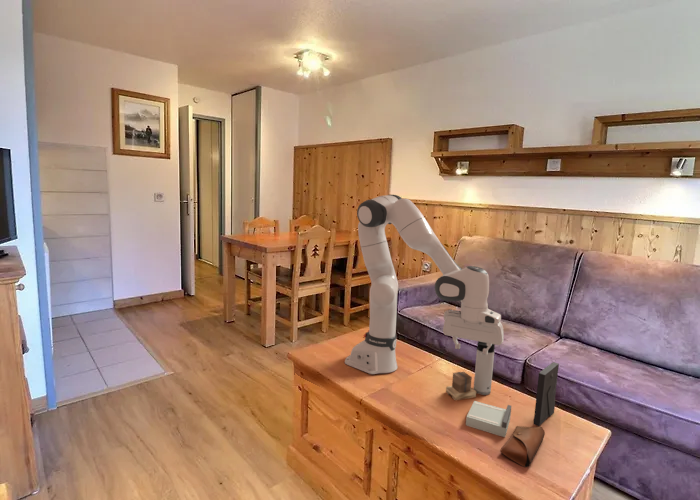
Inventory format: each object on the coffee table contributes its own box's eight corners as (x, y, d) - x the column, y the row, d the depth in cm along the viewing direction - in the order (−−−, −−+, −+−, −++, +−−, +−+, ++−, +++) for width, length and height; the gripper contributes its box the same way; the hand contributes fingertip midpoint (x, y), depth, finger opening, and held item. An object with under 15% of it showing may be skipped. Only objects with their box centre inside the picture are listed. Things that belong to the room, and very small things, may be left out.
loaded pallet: (454, 400, 143) (456, 379, 142) (445, 392, 149) (447, 372, 148) (475, 397, 146) (477, 377, 145) (466, 389, 152) (467, 370, 151)
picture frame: (547, 409, 139) (553, 361, 137) (554, 412, 137) (560, 364, 135) (533, 423, 130) (538, 372, 127) (540, 426, 128) (546, 375, 126)
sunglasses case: (515, 424, 126) (530, 413, 123) (533, 443, 124) (548, 432, 120) (498, 451, 112) (514, 440, 109) (517, 474, 109) (534, 463, 106)
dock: (465, 425, 127) (466, 411, 127) (473, 408, 138) (474, 395, 137) (505, 437, 122) (506, 422, 121) (510, 419, 132) (511, 405, 131)
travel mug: (492, 396, 147) (497, 345, 144) (474, 394, 148) (478, 343, 146) (490, 388, 153) (494, 339, 150) (472, 386, 154) (476, 337, 152)
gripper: (441, 310, 139) (439, 348, 140) (503, 320, 129) (500, 360, 131) (446, 306, 144) (444, 342, 146) (505, 315, 134) (502, 354, 136)
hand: (471, 351), depth 138 cm, fingers open, 8 cm apart
